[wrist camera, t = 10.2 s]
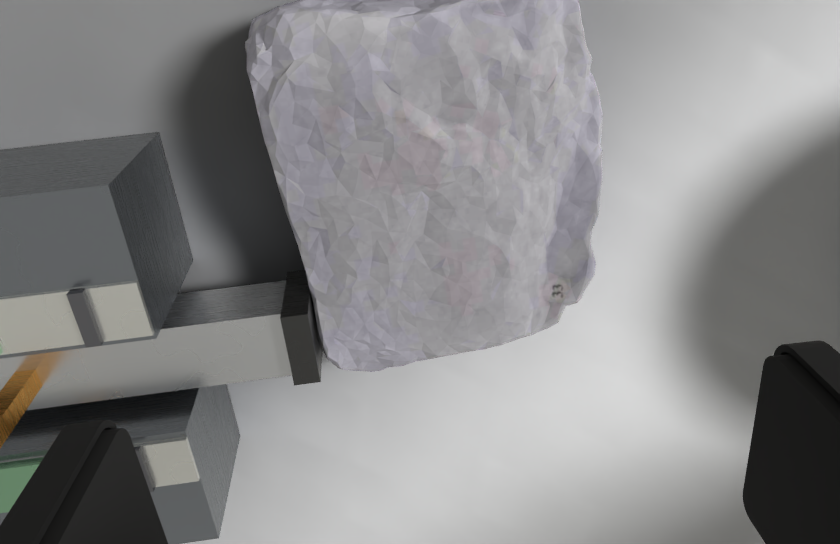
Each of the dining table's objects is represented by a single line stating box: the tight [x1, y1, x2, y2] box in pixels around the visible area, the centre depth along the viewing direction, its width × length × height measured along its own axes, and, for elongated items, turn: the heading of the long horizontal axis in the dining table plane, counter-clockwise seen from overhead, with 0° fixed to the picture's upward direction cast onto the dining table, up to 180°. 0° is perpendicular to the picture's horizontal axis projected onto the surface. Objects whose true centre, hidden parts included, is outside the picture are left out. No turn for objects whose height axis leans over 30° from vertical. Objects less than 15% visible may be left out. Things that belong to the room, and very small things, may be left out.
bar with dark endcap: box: [0, 270, 322, 448], centre depth 20 cm, size 11×2×6 cm, turn 95°
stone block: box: [245, 0, 603, 372], centre depth 21 cm, size 12×5×10 cm
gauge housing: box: [0, 132, 240, 544], centre depth 21 cm, size 10×12×5 cm
